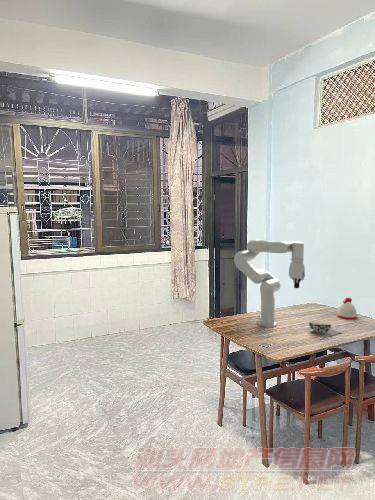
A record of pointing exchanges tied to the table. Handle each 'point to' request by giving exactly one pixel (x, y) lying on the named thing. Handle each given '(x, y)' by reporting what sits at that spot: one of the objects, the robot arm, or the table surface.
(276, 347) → the table surface
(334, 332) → the mat
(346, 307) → the white bobble hat
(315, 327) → the food container
